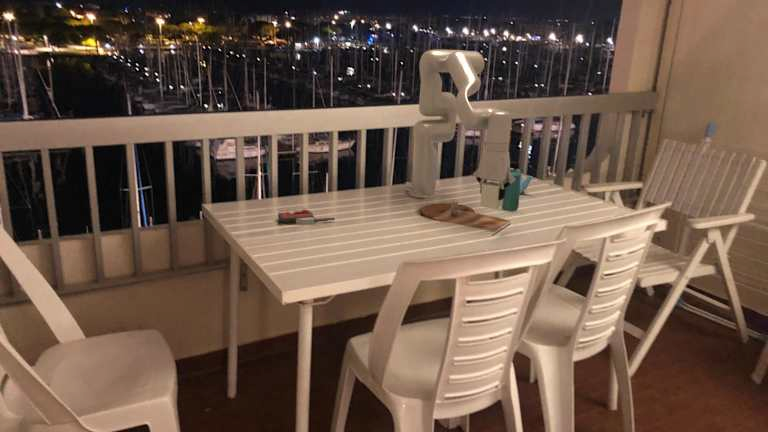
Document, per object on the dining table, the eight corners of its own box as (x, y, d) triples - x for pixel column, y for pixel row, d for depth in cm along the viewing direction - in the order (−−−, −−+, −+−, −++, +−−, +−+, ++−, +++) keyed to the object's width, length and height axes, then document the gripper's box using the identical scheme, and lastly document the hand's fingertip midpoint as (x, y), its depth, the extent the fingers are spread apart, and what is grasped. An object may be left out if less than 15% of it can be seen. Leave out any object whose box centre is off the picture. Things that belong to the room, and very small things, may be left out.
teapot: (485, 187, 270) (487, 163, 267) (517, 186, 273) (519, 163, 270) (498, 196, 256) (500, 171, 253) (531, 196, 259) (534, 171, 256)
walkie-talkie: (279, 228, 207) (335, 223, 215) (279, 215, 206) (335, 211, 213) (274, 220, 215) (328, 216, 222) (274, 208, 214) (328, 204, 221)
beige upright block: (480, 205, 212) (481, 183, 210) (486, 202, 217) (488, 180, 215) (495, 209, 209) (498, 186, 207) (502, 205, 214) (504, 183, 212)
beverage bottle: (517, 215, 231) (523, 164, 225) (500, 214, 232) (505, 163, 226) (517, 210, 237) (523, 160, 231) (500, 209, 238) (505, 159, 232)
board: (431, 221, 219) (432, 204, 217) (451, 211, 232) (452, 195, 230) (493, 235, 207) (494, 217, 205) (510, 224, 220) (512, 207, 218)
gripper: (469, 145, 209) (465, 195, 214) (516, 152, 200) (511, 204, 205) (478, 142, 215) (474, 191, 220) (524, 148, 206) (519, 199, 211)
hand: (492, 197), depth 212 cm, fingers closed on beige upright block, 6 cm apart
